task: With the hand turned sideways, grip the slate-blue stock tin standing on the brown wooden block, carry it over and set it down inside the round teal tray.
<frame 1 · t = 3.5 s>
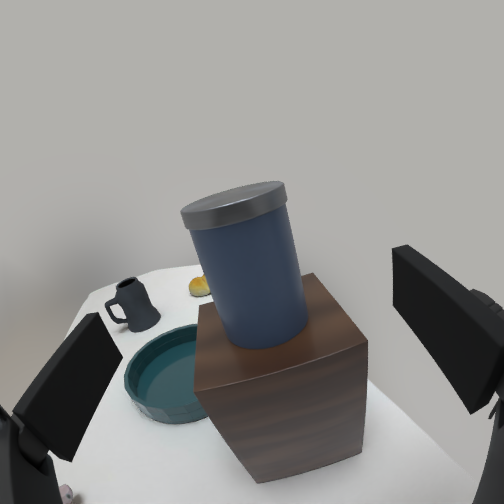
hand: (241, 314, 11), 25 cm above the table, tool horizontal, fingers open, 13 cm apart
round teal tray: (188, 376, 43), on the table
bread roll: (207, 289, 74), on the table
brown wooden block: (298, 432, 28), on the table
stock tin: (266, 321, 22), point 18 cm above the table, touching brown wooden block
mug: (139, 324, 64), on the table
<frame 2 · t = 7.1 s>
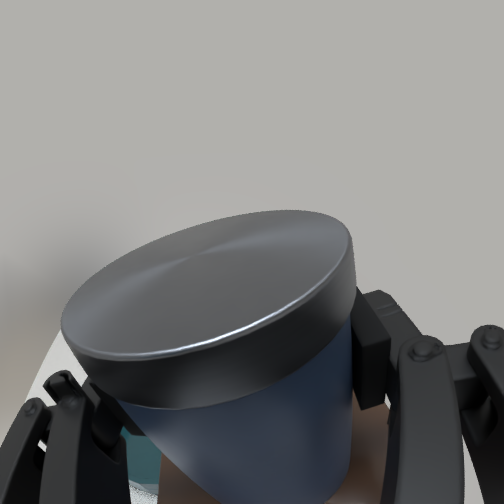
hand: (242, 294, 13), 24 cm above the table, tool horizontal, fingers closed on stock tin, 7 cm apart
round teal tray: (172, 434, 31), on the table
stock tin: (276, 459, 10), point 18 cm above the table, touching brown wooden block, gripper
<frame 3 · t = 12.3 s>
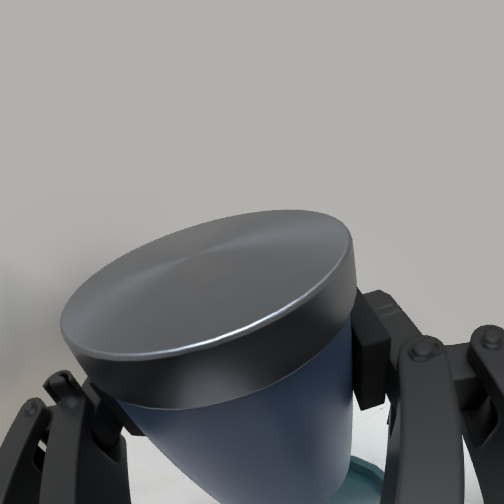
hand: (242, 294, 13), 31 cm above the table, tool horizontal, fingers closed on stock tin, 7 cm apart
stock tin: (276, 459, 10), point 25 cm above the table, touching gripper
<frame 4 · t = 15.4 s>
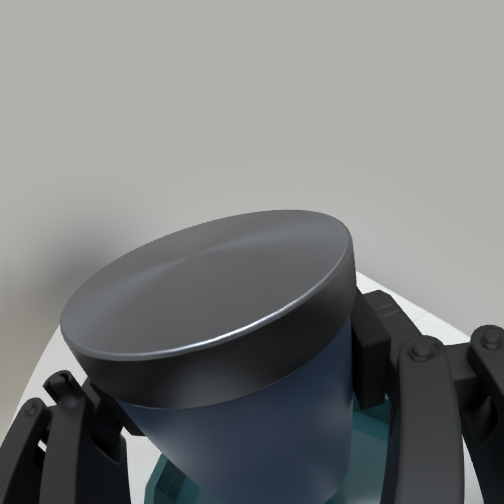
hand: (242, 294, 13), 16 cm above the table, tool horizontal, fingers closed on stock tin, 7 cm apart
stock tin: (276, 459, 10), point 9 cm above the table, touching gripper
when the fingers open (7 cm above the table, at t = 17.8 s): stock tin stays where it is, resting on round teal tray.
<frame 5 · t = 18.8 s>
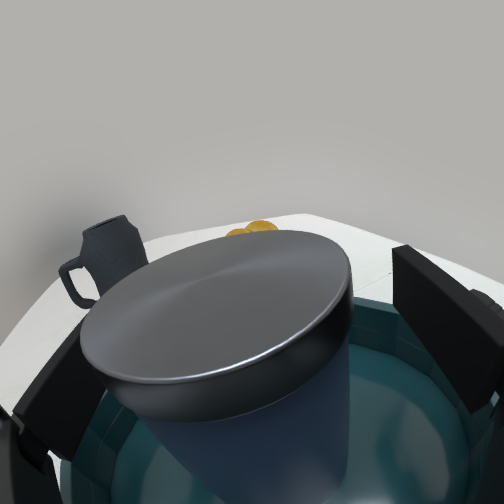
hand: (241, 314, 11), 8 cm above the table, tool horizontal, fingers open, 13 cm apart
round teal tray: (279, 465, 11), on the table
bread roll: (254, 250, 42), on the table
stock tin: (277, 461, 10), point 1 cm above the table, touching round teal tray
mug: (127, 312, 32), on the table
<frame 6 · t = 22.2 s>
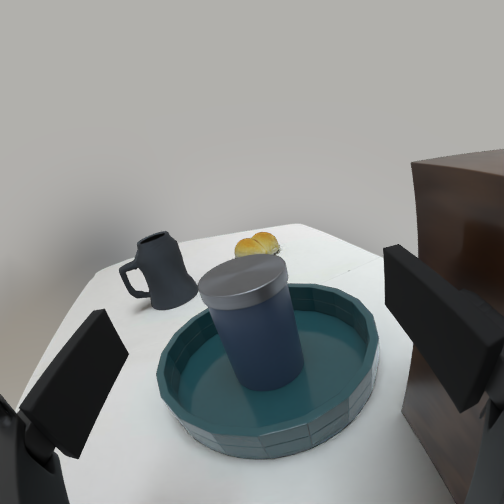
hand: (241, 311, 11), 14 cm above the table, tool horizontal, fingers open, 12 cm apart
round teal tray: (271, 369, 26), on the table
bread roll: (259, 254, 57), on the table
brown wooden block: (493, 422, 11), on the table
stock tin: (269, 365, 26), point 1 cm above the table, touching round teal tray
mug: (168, 300, 47), on the table
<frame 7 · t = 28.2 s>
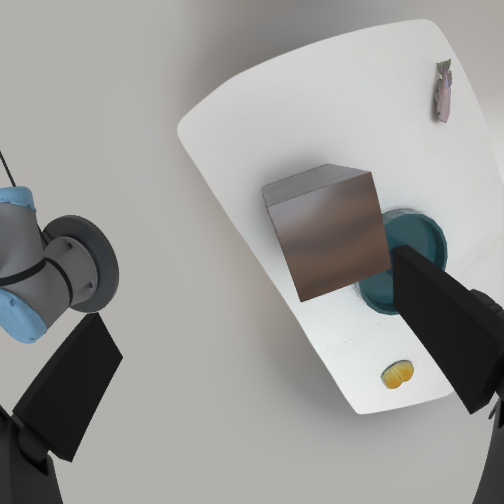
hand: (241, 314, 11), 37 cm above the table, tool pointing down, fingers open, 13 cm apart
round teal tray: (398, 260, 50), on the table
bread roll: (395, 371, 61), on the table
brown wooden block: (306, 207, 46), on the table
fish: (436, 91, 38), on the table
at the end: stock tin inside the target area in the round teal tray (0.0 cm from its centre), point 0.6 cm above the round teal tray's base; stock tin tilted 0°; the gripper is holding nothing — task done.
